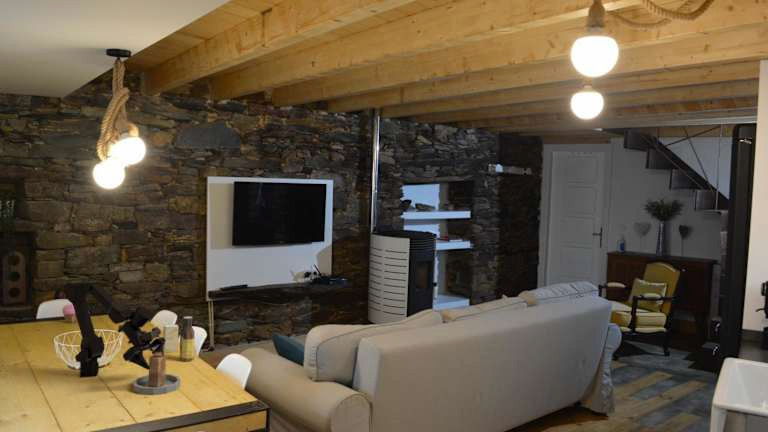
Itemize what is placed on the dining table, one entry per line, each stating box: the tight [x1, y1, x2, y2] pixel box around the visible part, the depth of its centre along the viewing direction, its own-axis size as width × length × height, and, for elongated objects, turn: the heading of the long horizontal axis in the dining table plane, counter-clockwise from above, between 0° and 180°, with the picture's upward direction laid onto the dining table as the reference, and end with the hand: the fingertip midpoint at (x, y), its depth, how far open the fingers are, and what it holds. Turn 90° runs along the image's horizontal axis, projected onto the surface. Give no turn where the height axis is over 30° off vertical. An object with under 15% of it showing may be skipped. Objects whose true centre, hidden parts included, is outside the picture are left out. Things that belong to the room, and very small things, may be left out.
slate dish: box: [132, 373, 181, 396], centre depth 234 cm, size 17×17×2 cm
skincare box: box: [162, 323, 179, 353], centre depth 282 cm, size 6×4×12 cm
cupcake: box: [61, 303, 78, 324], centre depth 326 cm, size 9×9×10 cm
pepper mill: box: [148, 352, 167, 388], centre depth 233 cm, size 4×4×13 cm
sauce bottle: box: [179, 315, 195, 362], centre depth 269 cm, size 6×6×20 cm
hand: (156, 365), depth 233 cm, fingers open, 9 cm apart
